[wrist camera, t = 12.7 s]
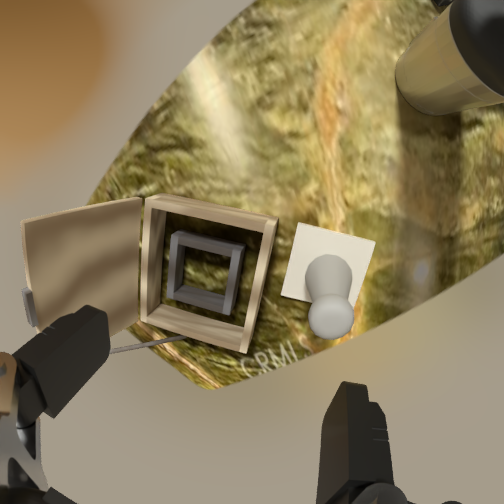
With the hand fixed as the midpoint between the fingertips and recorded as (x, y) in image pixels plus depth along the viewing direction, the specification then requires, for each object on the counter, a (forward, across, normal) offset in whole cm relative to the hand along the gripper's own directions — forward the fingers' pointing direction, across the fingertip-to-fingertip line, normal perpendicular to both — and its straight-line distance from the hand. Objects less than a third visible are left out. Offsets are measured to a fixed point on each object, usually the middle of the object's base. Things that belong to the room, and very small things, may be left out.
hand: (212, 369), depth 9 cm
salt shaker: (+30, -7, +7) cm, 31 cm away
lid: (+17, +19, +11) cm, 28 cm away
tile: (+30, -6, +7) cm, 32 cm away
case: (+30, +10, +12) cm, 34 cm away
